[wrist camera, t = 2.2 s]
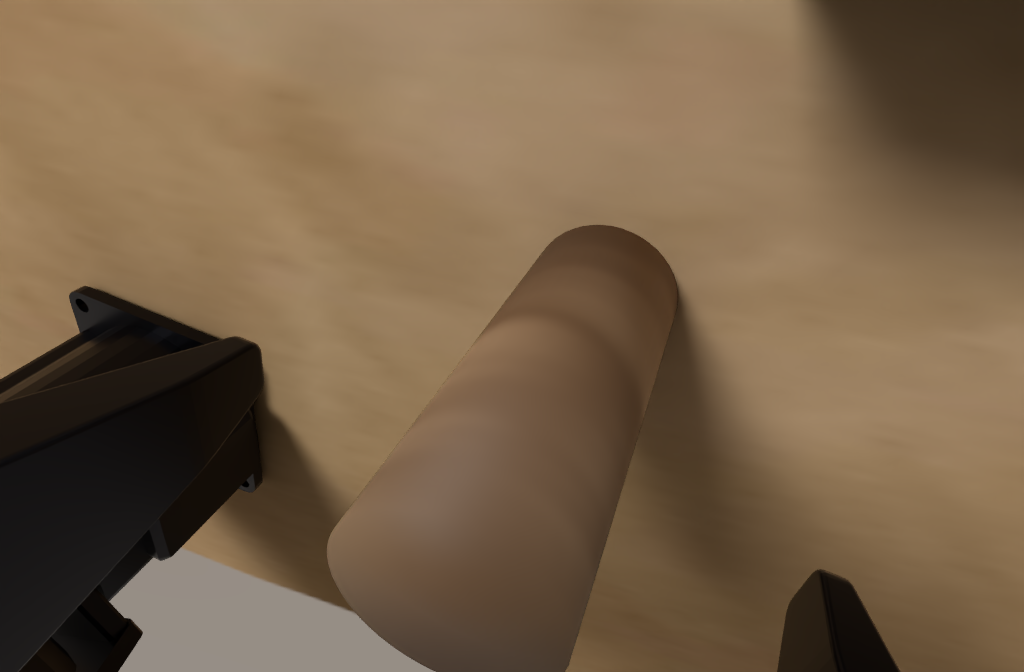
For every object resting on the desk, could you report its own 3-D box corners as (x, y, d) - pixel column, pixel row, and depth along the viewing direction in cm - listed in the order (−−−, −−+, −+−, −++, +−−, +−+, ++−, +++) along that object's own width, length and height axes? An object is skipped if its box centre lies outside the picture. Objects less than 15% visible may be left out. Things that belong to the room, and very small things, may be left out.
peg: (522, 327, 15) (328, 619, 9) (548, 205, 13) (324, 467, 7) (652, 373, 14) (542, 723, 8) (699, 252, 12) (602, 589, 6)
